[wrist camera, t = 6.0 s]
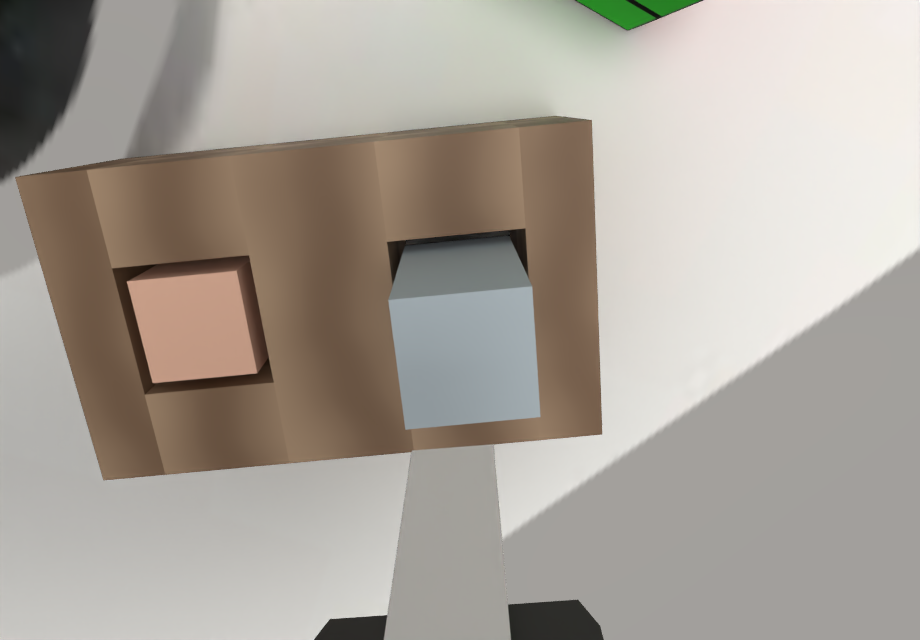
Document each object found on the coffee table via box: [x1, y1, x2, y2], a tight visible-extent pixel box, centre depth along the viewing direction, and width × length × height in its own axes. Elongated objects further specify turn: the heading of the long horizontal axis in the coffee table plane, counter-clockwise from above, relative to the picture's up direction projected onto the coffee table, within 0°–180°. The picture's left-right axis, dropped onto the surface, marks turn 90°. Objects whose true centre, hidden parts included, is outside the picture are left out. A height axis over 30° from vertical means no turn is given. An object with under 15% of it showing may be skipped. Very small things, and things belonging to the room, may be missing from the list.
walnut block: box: [15, 116, 602, 480], centre depth 29 cm, size 20×12×8 cm, turn 95°
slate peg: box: [388, 236, 540, 430], centre depth 23 cm, size 4×4×8 cm
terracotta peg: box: [127, 255, 269, 383], centre depth 29 cm, size 4×4×8 cm
